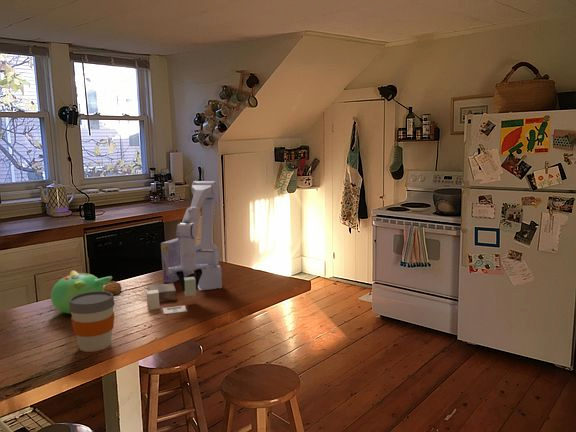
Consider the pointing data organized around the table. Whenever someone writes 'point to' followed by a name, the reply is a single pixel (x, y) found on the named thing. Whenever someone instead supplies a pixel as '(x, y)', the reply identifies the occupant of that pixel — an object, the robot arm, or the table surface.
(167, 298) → the taupe square block
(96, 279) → the green rounded plush
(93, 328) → the reusable coffee cup
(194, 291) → the sage block
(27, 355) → the table surface
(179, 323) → the table surface
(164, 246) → the cake pan box
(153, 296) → the cream block
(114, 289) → the pastry
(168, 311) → the card
